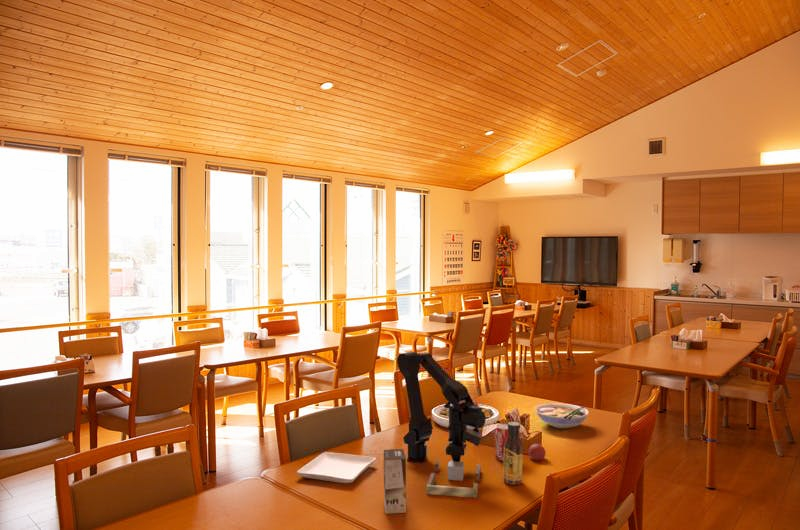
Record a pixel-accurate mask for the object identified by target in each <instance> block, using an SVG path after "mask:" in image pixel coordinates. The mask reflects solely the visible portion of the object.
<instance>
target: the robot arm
mask: <svg viewBox="0 0 800 530" xmlns="http://www.w3.org/2000/svg"><path fill="white" fill-rule="evenodd" d="M396 364H397V366H398V370H399V372H400V373H401V375H402V376H403V377H404V382H405V387H406V393H407V399H408V400H407V401H408V406H409V413H410V419H409V422H408V432H407V433H406V434H405V435H404V436H403V438H402V439H403V442H404V444H406V445H407V457H406V462H421V463H424V462H425V461H426V459H427V457H428V445H426V442H429V441H430V438H431V435H432V434H433V429H434V428H433V424H432V418H431V417H427V415H426V414H425V410H424V404H423V399H422V393H421V392H422V391H421V387H420V381H419V372H420V369H421V367H422V368H423V369H424V371H426V372H427V374H428V375H429V376H431V378H432V379H433V380H434V381H435V383H437V384H438V386H439V387H440V389H441V393H442V396H443V397H444V398H445V400H446V401H447V402H446V403H444V404H443V405H444V408H448V409H449V426H448V428H447V429H448V439H447V441H448V442H449V443H448V444H446V447H445V455H447V456H451V460H452V461H456V462H461V458H462V456H465V455H466V454H465V453H466V451H467V446H468V445H467V444H466V443H467V442H468V443H471V444H473V445H474V446H476V447H479V446H480V443H481V440H482V437H483V433H482V432H480V430H479V428H482V427H483V426H484V424H485V421H486V416H485V414H484V412H483V411H482V408H481V407H474V402H473V401H474V400H473V399H472V397H471V395H470V393H469V390H468V388H467V387H466V386H465V385H464V384H463V383H461V382H460V381H459V380H456V379H453V378H452V377H451V376H450V375H449V374H448V372H447V371H446V370H445V369H444V368H443V367H442V366H441V365H440V364H439V363H438V362H437V361H436V359H434V358H433V355H432V353H429V352H424V353H417V352H415V351H410V352H404V353H400V354H399V355H398V356H397V357H396ZM463 401H466V402H464V403H461V404H459V403H460V402H463ZM467 425H468V426H472V427H474V428H473V429H472V430H471V429H468V428H467Z"/></svg>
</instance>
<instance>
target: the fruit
mask: <svg viewBox="0 0 800 530" xmlns="http://www.w3.org/2000/svg"><path fill="white" fill-rule="evenodd" d="M527 450H528V455H529V458H530V459H531V460H532V461H535V462H537V461H538V462H540V461H543V460H544V459H545V457H546V453H547V452H546V449H545V447H544V446H543V445H542V444H540V443H534V444H532V445H530V446H529V448H527Z"/></svg>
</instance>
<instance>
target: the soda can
mask: <svg viewBox="0 0 800 530" xmlns="http://www.w3.org/2000/svg"><path fill="white" fill-rule="evenodd" d="M507 436H508V423H506V424H505V423H504V424H501V423H500V424H497V425H496V428H495V430H494V456H495V458H496V459H498V460H499V461H501V462H503V457H504V445H505V442H506V439H507Z"/></svg>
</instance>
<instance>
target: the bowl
mask: <svg viewBox="0 0 800 530" xmlns="http://www.w3.org/2000/svg"><path fill="white" fill-rule="evenodd" d="M472 401H473V402H474V407H481V408H482V411H483V412H484V414H485V416H486V421H485V424H484V425H486V424H493V423H495V424H496V423H497V421H498V420H499V417H500V412H499V410H497V409H496V408H495V407H492V406H489V405H485V404H481V403H480V404H479V403H478V402H477V401H475V400H472ZM464 402H466V401H463V402H460V403H459V404H461V403H464ZM444 405H445V404H441V405H440V404H439V405H438V406H436V407H434V408H433V409H432V410H431V416H432V419H433V420H434V422H435V423H437V424H438V425H439V426H441V427H444V428H447V429H448V426H449V409H448V408H444ZM467 428H468V429H471V430H472V429H473V428H474V427H472V426H468V425H467Z"/></svg>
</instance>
